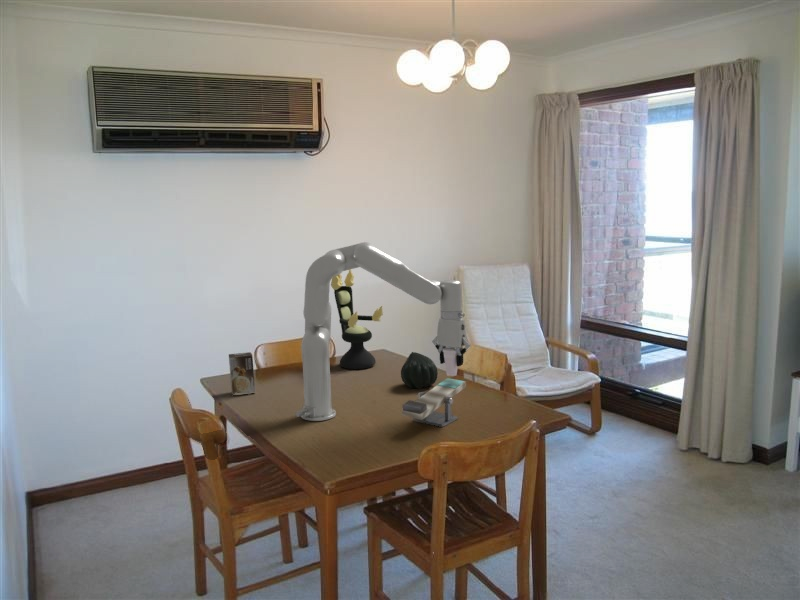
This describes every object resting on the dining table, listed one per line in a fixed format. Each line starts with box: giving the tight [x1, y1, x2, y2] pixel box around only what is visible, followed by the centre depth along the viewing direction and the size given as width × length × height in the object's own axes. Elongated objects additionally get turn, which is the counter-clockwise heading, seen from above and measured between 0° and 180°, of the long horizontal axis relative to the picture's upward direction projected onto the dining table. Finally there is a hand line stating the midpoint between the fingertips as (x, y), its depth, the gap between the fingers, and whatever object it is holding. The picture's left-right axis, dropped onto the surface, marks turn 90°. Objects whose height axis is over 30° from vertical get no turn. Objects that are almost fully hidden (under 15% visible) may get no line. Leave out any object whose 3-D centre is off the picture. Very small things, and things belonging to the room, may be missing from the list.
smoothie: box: [443, 346, 459, 377], centre depth 238 cm, size 6×6×14 cm
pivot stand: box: [412, 391, 458, 428], centre depth 232 cm, size 10×14×9 cm
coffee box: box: [228, 351, 256, 395], centre depth 268 cm, size 9×6×16 cm
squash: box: [400, 351, 438, 390], centre depth 273 cm, size 14×15×15 cm
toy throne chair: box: [330, 269, 384, 370], centre depth 306 cm, size 19×22×45 cm
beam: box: [401, 377, 467, 420], centre depth 231 cm, size 29×8×4 cm, turn 144°
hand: (451, 363), depth 239 cm, fingers closed on smoothie, 6 cm apart
